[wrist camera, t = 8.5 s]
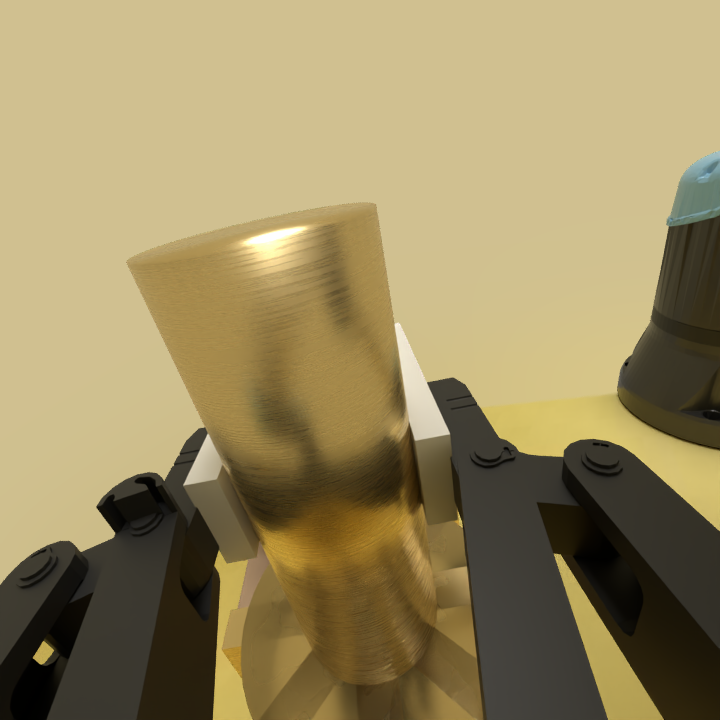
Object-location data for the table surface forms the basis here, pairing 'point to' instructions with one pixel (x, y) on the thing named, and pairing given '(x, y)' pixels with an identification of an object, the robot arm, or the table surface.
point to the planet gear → (319, 468)
